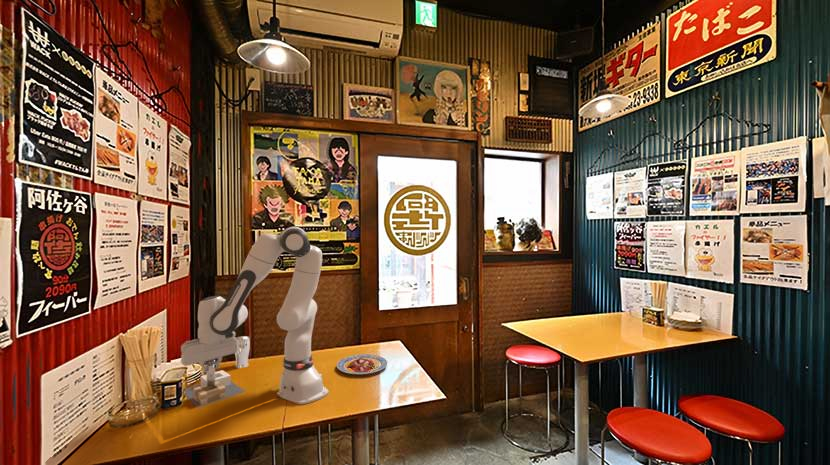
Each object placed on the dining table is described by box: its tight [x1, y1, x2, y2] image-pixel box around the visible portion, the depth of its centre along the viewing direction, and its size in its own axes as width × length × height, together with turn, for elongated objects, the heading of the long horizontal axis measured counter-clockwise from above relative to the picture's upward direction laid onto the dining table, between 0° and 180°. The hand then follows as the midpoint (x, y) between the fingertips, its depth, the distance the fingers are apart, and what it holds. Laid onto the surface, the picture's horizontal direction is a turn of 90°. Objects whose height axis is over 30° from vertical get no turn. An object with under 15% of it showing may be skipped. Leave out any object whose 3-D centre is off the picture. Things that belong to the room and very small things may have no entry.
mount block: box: [193, 381, 226, 405], centre depth 138 cm, size 9×9×4 cm
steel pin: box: [204, 358, 217, 386], centre depth 138 cm, size 4×4×10 cm
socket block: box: [200, 369, 232, 386], centre depth 150 cm, size 9×9×4 cm
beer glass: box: [234, 335, 251, 369], centre depth 171 cm, size 7×7×15 cm
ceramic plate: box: [336, 353, 388, 375], centre depth 174 cm, size 26×26×3 cm
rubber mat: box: [183, 380, 246, 409], centre depth 144 cm, size 22×18×1 cm
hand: (210, 369), depth 138 cm, fingers closed on steel pin, 3 cm apart
